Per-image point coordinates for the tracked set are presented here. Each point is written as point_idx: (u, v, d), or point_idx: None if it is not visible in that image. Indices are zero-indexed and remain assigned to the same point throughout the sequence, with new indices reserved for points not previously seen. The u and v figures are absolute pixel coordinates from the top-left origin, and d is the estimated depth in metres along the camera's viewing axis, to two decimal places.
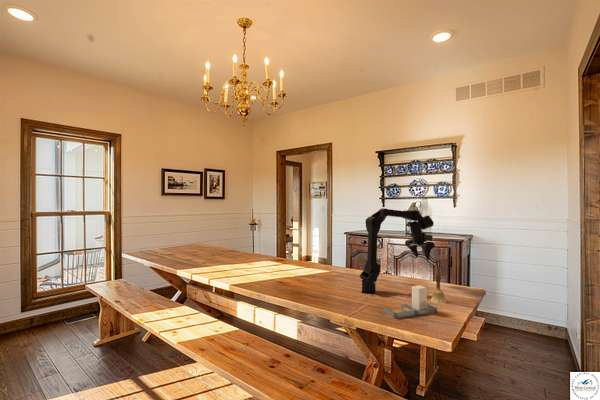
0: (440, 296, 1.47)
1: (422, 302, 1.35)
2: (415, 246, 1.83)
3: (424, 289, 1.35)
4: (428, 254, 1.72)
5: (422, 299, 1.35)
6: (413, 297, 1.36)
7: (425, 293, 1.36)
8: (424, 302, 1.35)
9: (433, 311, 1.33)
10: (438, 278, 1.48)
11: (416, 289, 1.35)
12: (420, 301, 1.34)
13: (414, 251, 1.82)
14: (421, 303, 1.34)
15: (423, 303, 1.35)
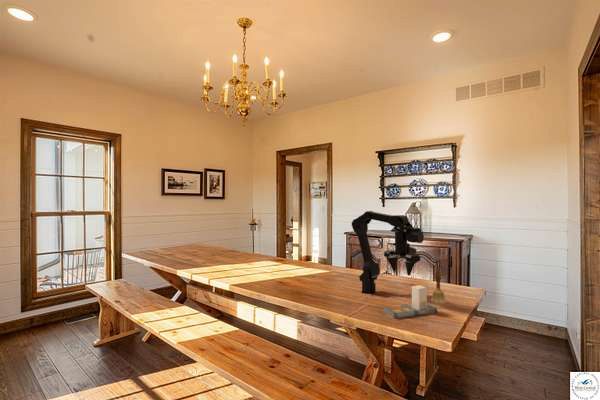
0: (440, 296, 1.47)
1: (422, 302, 1.35)
2: (395, 259, 1.58)
3: (424, 289, 1.35)
4: (410, 268, 1.48)
5: (422, 299, 1.35)
6: (413, 297, 1.36)
7: (425, 293, 1.36)
8: (424, 302, 1.35)
9: (433, 311, 1.33)
10: (438, 278, 1.48)
11: (416, 289, 1.35)
12: (420, 301, 1.34)
13: (393, 264, 1.56)
14: (421, 303, 1.34)
15: (423, 303, 1.35)
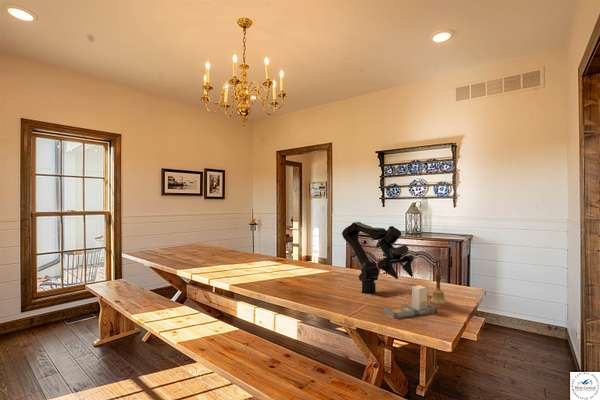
0: (440, 296, 1.47)
1: (422, 302, 1.35)
2: (406, 264, 1.50)
3: (424, 289, 1.35)
4: (392, 272, 1.44)
5: (422, 299, 1.35)
6: (413, 297, 1.36)
7: (425, 293, 1.36)
8: (424, 302, 1.35)
9: (433, 311, 1.33)
10: (438, 278, 1.48)
11: (416, 289, 1.35)
12: (420, 301, 1.34)
13: (407, 270, 1.49)
14: (421, 303, 1.34)
15: (423, 303, 1.35)
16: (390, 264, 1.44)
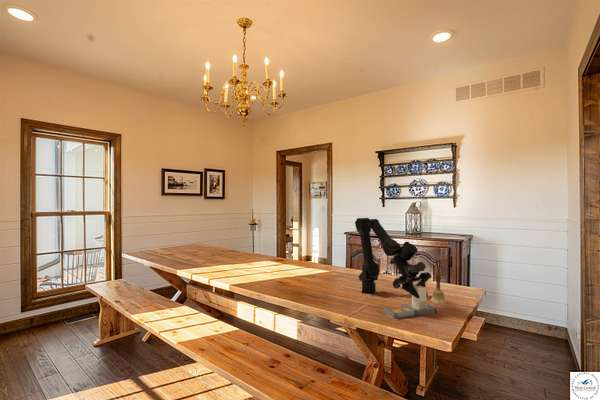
0: (440, 296, 1.47)
1: (422, 302, 1.35)
2: (420, 282, 1.40)
3: (424, 289, 1.35)
4: (412, 291, 1.35)
5: (422, 299, 1.35)
6: (413, 297, 1.36)
7: (425, 293, 1.36)
8: (424, 302, 1.35)
9: (433, 311, 1.33)
10: (438, 278, 1.48)
11: (416, 289, 1.35)
12: (420, 301, 1.34)
13: None
14: (421, 303, 1.34)
15: (423, 303, 1.35)
16: (410, 282, 1.35)
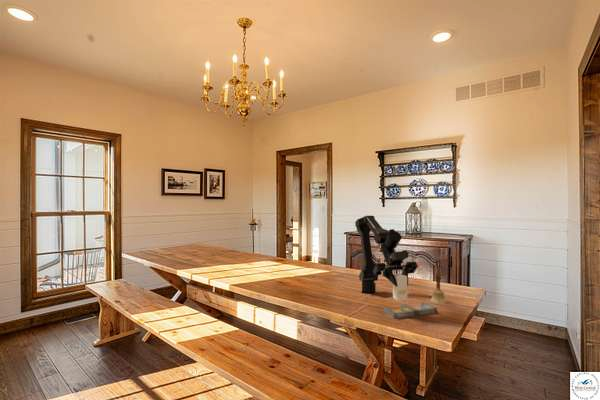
0: (440, 296, 1.47)
1: (401, 291, 1.31)
2: (403, 271, 1.36)
3: (404, 278, 1.32)
4: (391, 279, 1.33)
5: (401, 288, 1.32)
6: (394, 285, 1.34)
7: (405, 282, 1.32)
8: (404, 291, 1.32)
9: (433, 311, 1.33)
10: (438, 278, 1.48)
11: (395, 277, 1.33)
12: (399, 289, 1.31)
13: None
14: (400, 292, 1.31)
15: (402, 292, 1.32)
16: (389, 270, 1.34)
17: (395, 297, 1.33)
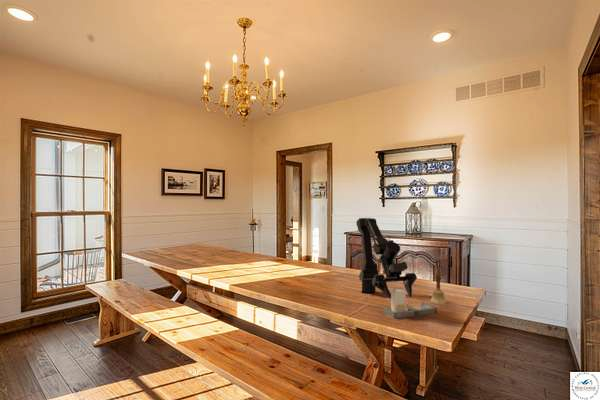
0: (440, 296, 1.47)
1: (400, 305, 1.31)
2: (407, 282, 1.36)
3: (402, 292, 1.32)
4: (385, 291, 1.33)
5: (400, 302, 1.31)
6: (392, 299, 1.34)
7: (404, 296, 1.32)
8: (402, 305, 1.32)
9: (433, 311, 1.33)
10: (438, 278, 1.48)
11: (394, 291, 1.32)
12: (397, 303, 1.31)
13: (407, 290, 1.35)
14: (398, 306, 1.31)
15: (401, 306, 1.31)
16: (383, 282, 1.33)
17: None
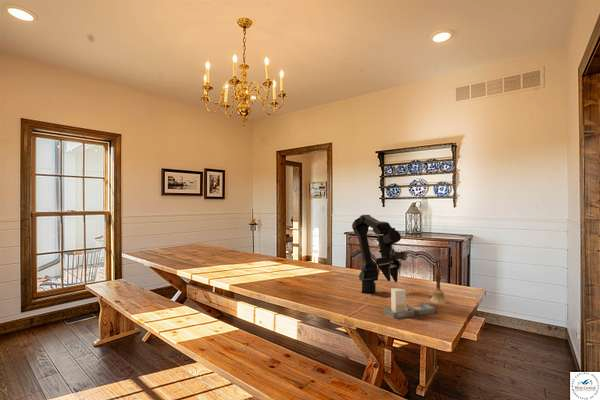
0: (440, 296, 1.47)
1: (400, 305, 1.31)
2: (395, 268, 1.49)
3: (402, 292, 1.32)
4: (387, 273, 1.40)
5: (400, 302, 1.31)
6: (392, 299, 1.34)
7: (404, 296, 1.32)
8: (402, 305, 1.32)
9: (433, 311, 1.33)
10: (438, 278, 1.48)
11: (394, 291, 1.32)
12: (397, 303, 1.31)
13: (392, 274, 1.49)
14: (398, 306, 1.31)
15: (401, 306, 1.31)
16: (390, 265, 1.39)
17: None
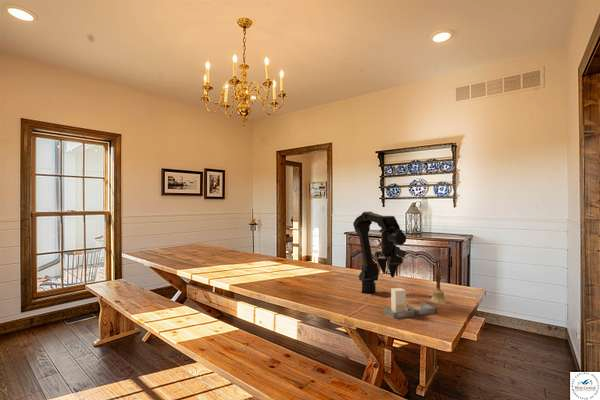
0: (440, 296, 1.47)
1: (400, 305, 1.31)
2: (384, 260, 1.55)
3: (402, 292, 1.32)
4: (393, 270, 1.44)
5: (400, 302, 1.31)
6: (392, 299, 1.34)
7: (404, 296, 1.32)
8: (402, 305, 1.32)
9: (433, 311, 1.33)
10: (438, 278, 1.48)
11: (394, 291, 1.32)
12: (397, 303, 1.31)
13: (382, 265, 1.55)
14: (398, 306, 1.31)
15: (401, 306, 1.31)
16: None
17: None
